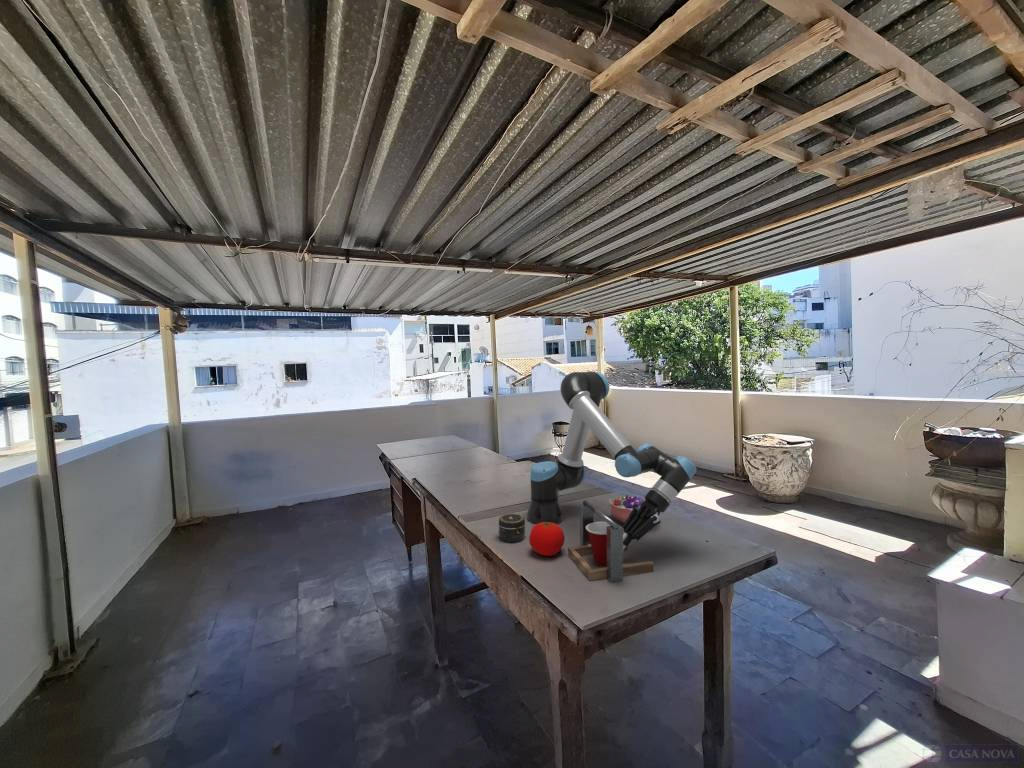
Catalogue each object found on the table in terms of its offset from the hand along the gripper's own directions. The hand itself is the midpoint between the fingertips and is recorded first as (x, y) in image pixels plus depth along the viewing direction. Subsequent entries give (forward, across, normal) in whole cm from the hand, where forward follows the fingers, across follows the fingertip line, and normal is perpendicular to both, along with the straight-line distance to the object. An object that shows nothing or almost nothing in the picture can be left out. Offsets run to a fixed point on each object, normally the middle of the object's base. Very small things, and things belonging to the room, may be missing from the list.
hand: (615, 550), depth 127 cm
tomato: (+17, +12, +11) cm, 23 cm away
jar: (+23, +27, +18) cm, 40 cm away
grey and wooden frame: (+4, 0, -1) cm, 4 cm away
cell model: (-13, +28, -18) cm, 36 cm away
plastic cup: (+6, +1, 0) cm, 6 cm away
